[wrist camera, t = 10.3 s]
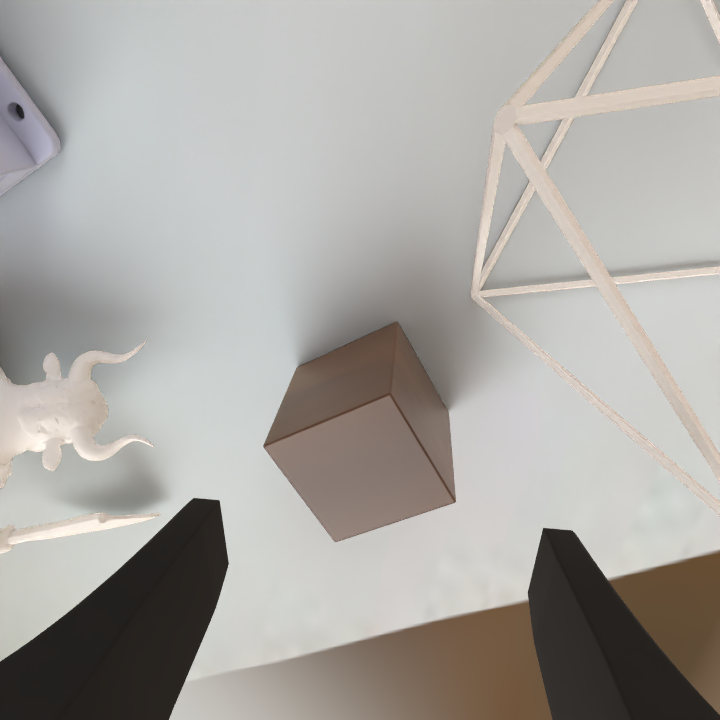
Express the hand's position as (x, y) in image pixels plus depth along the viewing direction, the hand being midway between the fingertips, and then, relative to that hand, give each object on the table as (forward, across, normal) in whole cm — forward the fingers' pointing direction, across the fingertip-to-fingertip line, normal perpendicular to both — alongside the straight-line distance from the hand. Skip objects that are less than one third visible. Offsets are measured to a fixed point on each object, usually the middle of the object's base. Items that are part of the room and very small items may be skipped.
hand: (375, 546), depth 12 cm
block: (+9, +1, +1) cm, 9 cm away
